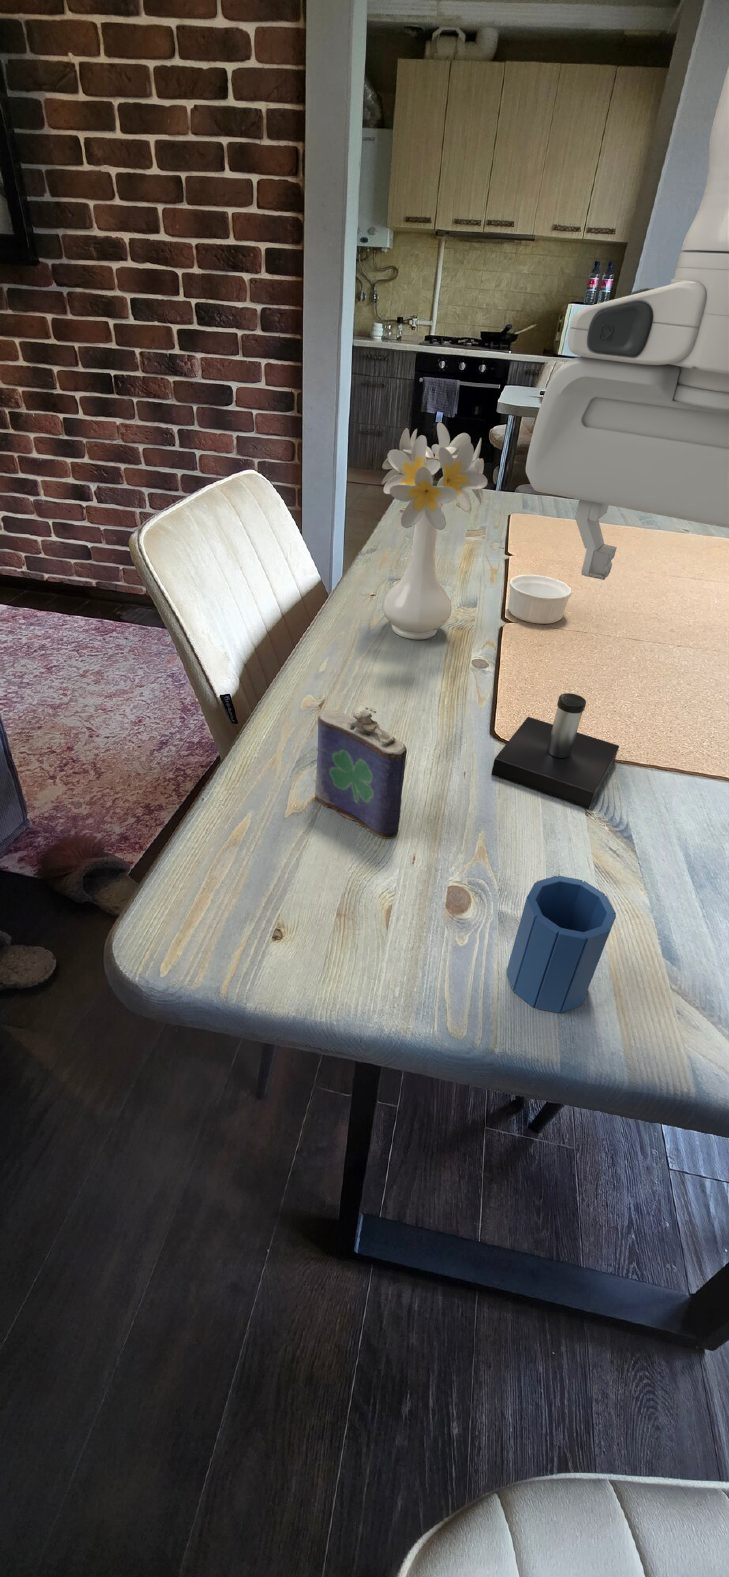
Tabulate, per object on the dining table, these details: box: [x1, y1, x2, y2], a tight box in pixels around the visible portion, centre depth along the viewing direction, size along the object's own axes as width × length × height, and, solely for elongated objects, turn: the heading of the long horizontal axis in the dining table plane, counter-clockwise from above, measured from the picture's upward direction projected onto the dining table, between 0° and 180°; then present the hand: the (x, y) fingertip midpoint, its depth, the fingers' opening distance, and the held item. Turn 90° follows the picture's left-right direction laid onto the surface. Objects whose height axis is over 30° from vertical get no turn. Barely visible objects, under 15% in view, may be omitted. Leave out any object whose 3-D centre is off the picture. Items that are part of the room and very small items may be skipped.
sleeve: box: [506, 875, 617, 1014], centre depth 51 cm, size 6×6×8 cm
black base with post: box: [491, 692, 620, 810], centre depth 73 cm, size 10×10×8 cm
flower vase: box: [381, 422, 488, 641], centre depth 93 cm, size 13×18×25 cm
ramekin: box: [507, 574, 573, 625], centre depth 107 cm, size 9×9×4 cm
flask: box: [314, 706, 408, 840], centre depth 64 cm, size 9×3×11 cm, turn 50°
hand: (670, 593), depth 45 cm, fingers open, 8 cm apart
